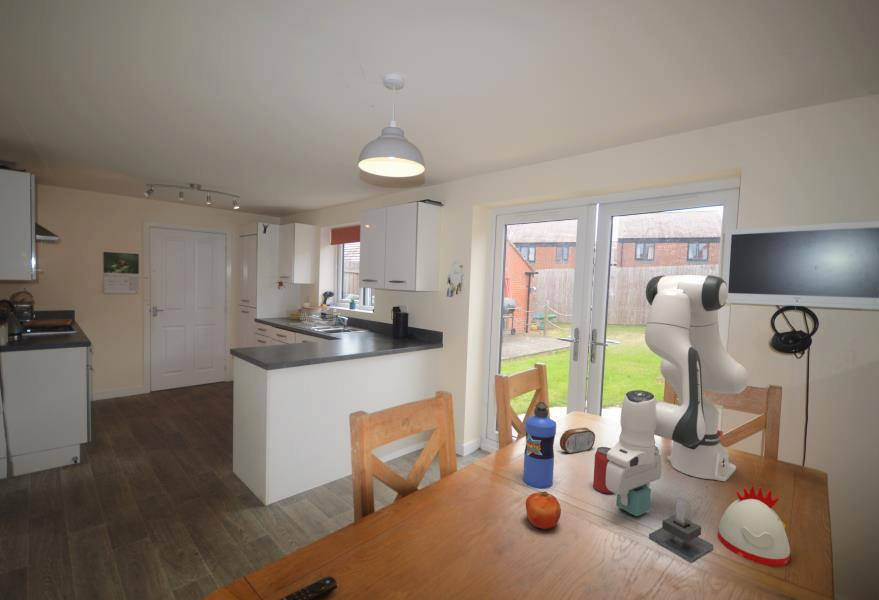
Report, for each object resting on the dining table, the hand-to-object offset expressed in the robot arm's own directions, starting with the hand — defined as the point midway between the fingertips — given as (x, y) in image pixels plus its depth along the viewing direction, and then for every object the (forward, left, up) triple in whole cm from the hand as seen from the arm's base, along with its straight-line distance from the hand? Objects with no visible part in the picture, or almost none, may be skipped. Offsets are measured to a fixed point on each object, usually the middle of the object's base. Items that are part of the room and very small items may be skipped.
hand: (633, 500), depth 113 cm
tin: (-19, -35, -4) cm, 40 cm away
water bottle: (+11, -25, -4) cm, 28 cm away
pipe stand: (+2, +14, -3) cm, 15 cm away
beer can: (-4, -12, -4) cm, 13 cm away
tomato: (+26, -8, -4) cm, 28 cm away
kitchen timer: (-13, +23, -4) cm, 27 cm away
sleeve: (0, 0, -2) cm, 2 cm away
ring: (+2, +14, 0) cm, 14 cm away
